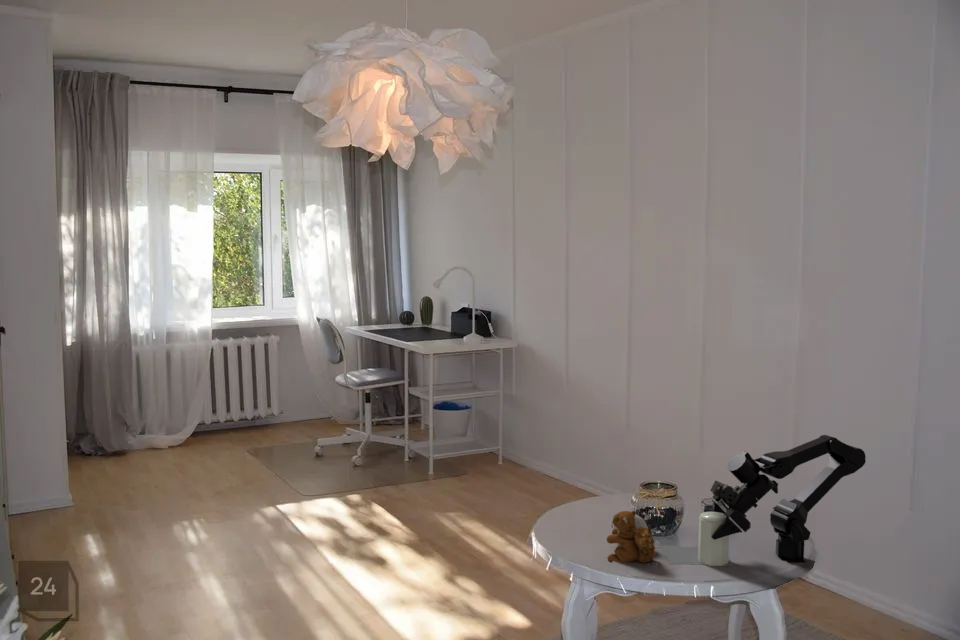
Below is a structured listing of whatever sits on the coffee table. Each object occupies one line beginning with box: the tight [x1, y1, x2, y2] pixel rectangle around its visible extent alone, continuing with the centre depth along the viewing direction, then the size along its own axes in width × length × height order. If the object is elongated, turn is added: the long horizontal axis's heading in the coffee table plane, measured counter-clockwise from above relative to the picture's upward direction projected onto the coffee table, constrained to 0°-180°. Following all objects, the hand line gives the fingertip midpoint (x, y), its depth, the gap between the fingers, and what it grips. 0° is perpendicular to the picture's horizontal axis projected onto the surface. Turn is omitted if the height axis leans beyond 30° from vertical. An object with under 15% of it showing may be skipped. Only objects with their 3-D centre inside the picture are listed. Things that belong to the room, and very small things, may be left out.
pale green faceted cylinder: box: [697, 511, 730, 567], centre depth 242 cm, size 7×7×12 cm
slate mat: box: [661, 545, 734, 567], centre depth 247 cm, size 17×14×1 cm
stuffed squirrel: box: [606, 510, 657, 564], centre depth 244 cm, size 10×14×13 cm
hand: (708, 532), depth 242 cm, fingers open, 9 cm apart
